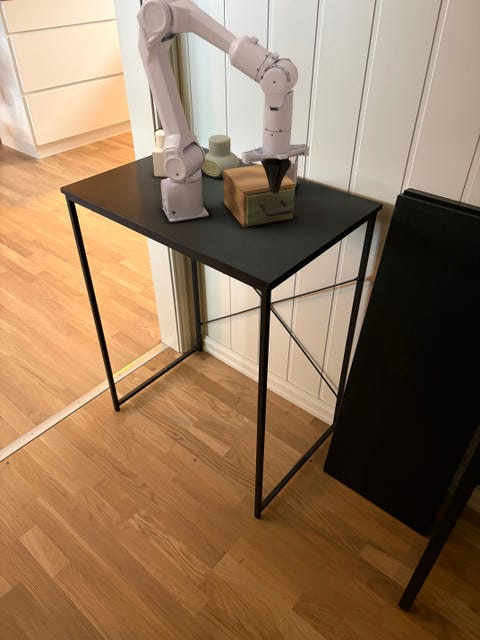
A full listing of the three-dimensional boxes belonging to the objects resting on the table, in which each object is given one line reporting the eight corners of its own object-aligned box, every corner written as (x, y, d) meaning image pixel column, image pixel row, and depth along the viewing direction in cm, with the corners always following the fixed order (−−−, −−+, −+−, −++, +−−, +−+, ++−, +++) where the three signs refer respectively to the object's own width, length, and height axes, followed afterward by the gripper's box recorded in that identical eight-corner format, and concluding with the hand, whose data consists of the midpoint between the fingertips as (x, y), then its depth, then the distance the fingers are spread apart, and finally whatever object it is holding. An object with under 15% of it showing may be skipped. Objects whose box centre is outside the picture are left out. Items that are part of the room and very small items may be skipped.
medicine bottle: (160, 167, 142) (156, 124, 134) (185, 168, 141) (182, 125, 134) (154, 176, 136) (149, 132, 129) (179, 178, 136) (175, 133, 128)
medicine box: (293, 196, 126) (295, 163, 121) (276, 194, 127) (277, 161, 122) (296, 184, 132) (299, 152, 127) (280, 182, 133) (281, 150, 128)
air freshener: (196, 173, 138) (194, 137, 132) (215, 165, 143) (214, 130, 137) (225, 183, 133) (224, 146, 126) (244, 174, 138) (245, 138, 131)
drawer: (302, 226, 111) (304, 198, 107) (255, 235, 108) (256, 206, 104) (271, 196, 124) (272, 170, 120) (229, 203, 121) (228, 176, 117)
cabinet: (292, 218, 117) (295, 183, 111) (243, 227, 113) (243, 191, 108) (270, 195, 127) (271, 163, 121) (223, 203, 123) (223, 169, 118)
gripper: (251, 137, 94) (249, 203, 103) (318, 129, 98) (312, 193, 107) (238, 127, 99) (238, 190, 108) (302, 119, 104) (297, 181, 112)
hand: (274, 191), depth 108 cm, fingers closed
